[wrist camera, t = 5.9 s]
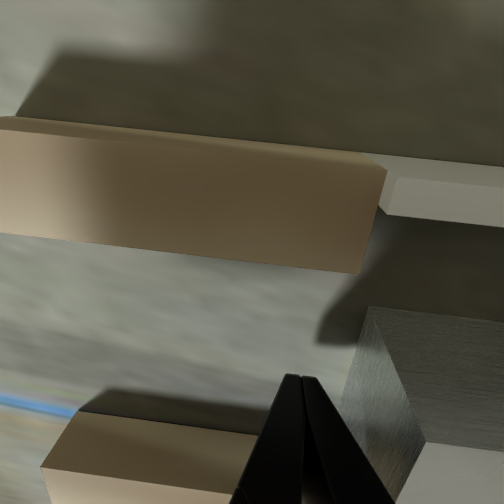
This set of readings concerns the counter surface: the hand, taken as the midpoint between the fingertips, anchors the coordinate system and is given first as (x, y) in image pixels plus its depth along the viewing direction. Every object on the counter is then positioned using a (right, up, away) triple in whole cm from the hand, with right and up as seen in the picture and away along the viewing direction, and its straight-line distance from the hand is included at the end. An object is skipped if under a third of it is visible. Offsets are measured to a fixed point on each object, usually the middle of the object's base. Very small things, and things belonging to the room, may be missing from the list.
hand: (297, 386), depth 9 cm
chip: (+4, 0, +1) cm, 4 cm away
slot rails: (-3, +1, +1) cm, 4 cm away
